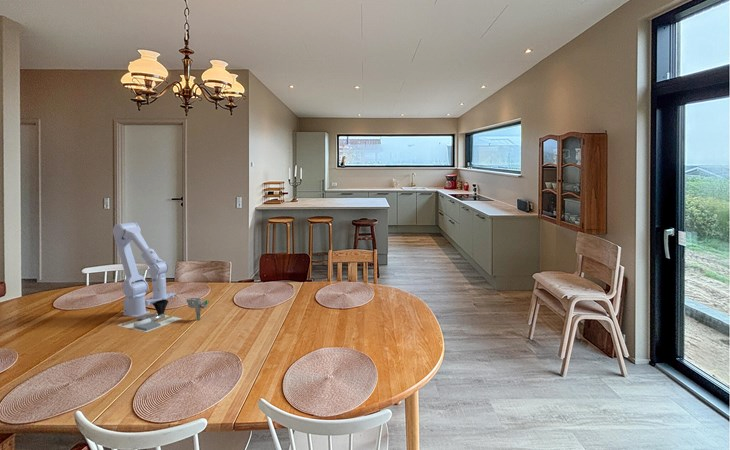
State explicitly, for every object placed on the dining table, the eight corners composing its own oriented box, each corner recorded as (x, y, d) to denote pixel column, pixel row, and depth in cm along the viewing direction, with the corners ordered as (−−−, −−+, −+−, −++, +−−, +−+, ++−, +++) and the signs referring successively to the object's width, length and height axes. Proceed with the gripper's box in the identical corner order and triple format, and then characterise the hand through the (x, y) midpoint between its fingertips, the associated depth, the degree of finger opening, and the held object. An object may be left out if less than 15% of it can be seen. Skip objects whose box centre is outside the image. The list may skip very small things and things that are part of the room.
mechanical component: (206, 322, 197) (205, 300, 195) (186, 320, 199) (185, 299, 197) (210, 320, 200) (209, 299, 198) (190, 318, 202) (189, 297, 200)
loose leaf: (139, 320, 197) (138, 315, 197) (152, 316, 203) (152, 311, 203) (151, 323, 194) (151, 318, 193) (165, 318, 200) (164, 313, 200)
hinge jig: (116, 325, 191) (116, 320, 191) (153, 313, 209) (153, 307, 208) (146, 332, 184) (146, 326, 183) (182, 319, 201) (182, 313, 200)
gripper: (151, 292, 192) (153, 322, 194) (178, 284, 205) (179, 312, 207) (140, 290, 195) (142, 319, 197) (167, 283, 208) (169, 310, 210)
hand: (160, 316), depth 202 cm, fingers closed
